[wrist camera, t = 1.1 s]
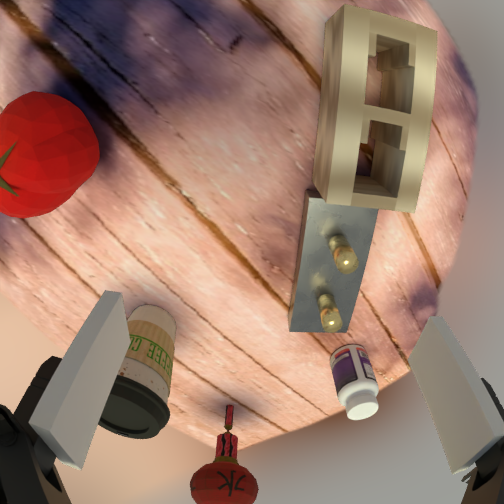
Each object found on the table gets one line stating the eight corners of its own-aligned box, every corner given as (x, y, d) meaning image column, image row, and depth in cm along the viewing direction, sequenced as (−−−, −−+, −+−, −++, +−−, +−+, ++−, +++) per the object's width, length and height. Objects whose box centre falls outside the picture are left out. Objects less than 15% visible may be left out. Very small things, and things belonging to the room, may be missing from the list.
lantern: (208, 384, 44) (184, 576, 18) (267, 397, 45) (269, 581, 19) (196, 413, 48) (173, 574, 22) (248, 425, 50) (243, 581, 23)
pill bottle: (328, 371, 43) (338, 425, 34) (331, 345, 40) (344, 402, 31) (363, 366, 42) (379, 419, 34) (368, 341, 40) (388, 395, 31)
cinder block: (325, 23, 23) (344, 4, 16) (402, 41, 23) (437, 31, 17) (311, 180, 30) (326, 203, 24) (385, 189, 30) (414, 213, 24)
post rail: (305, 189, 30) (317, 212, 25) (371, 196, 31) (395, 220, 25) (287, 318, 38) (292, 356, 32) (342, 319, 38) (353, 355, 32)
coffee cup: (193, 301, 37) (166, 404, 24) (187, 356, 41) (167, 449, 28) (117, 285, 36) (64, 374, 23) (120, 341, 41) (84, 426, 27)
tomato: (112, 201, 31) (45, 261, 19) (28, 181, 30) (-47, 226, 18) (129, 94, 26) (51, 99, 14) (37, 86, 25) (-49, 98, 13)
